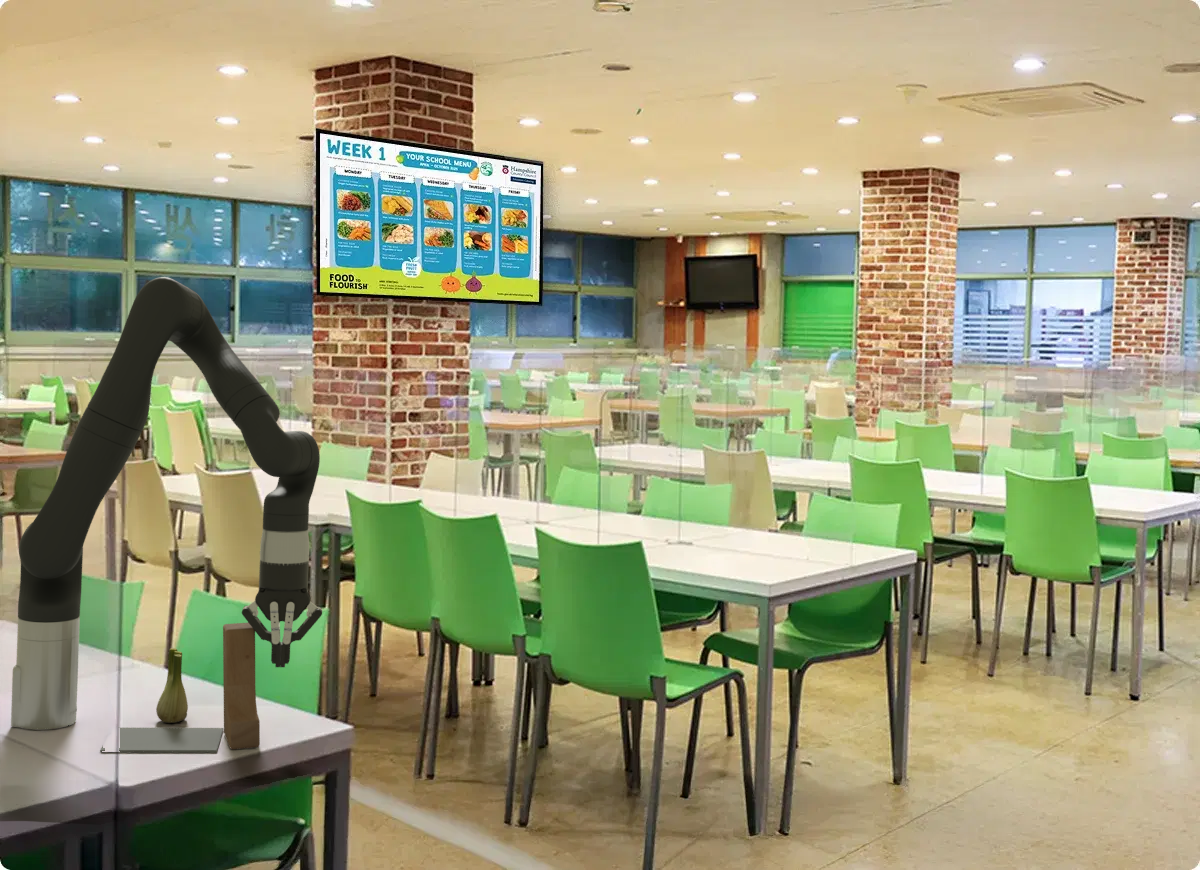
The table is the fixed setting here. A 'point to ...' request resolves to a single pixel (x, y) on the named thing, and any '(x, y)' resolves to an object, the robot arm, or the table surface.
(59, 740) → the table surface
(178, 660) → the fennel bulb
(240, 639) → the wooden block
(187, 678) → the table surface
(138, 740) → the mat
